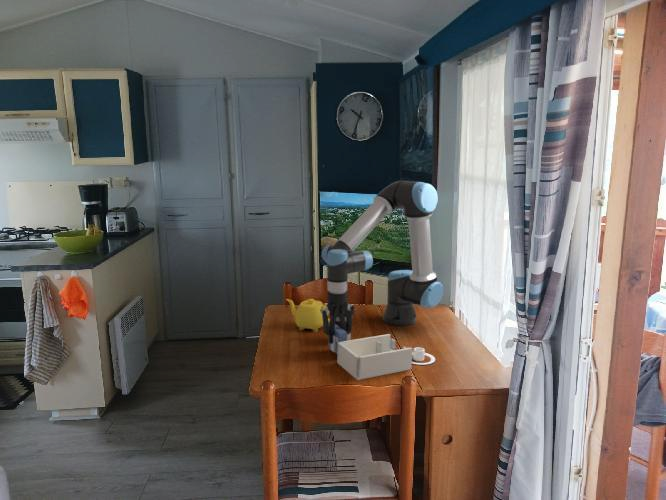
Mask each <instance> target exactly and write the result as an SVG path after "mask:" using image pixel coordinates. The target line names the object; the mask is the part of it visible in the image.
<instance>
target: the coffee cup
mask: <svg viewBox="0 0 666 500" xmlns="http://www.w3.org/2000/svg"><path fill="white" fill-rule="evenodd" d="M346 315H347V309H346V310H345V322H346ZM353 315H355V309H354V310H353V313H352V316H353ZM353 319H354V318H353V317H352V322H353ZM335 324H336V325H337V326H339V327H340V328H341V325H340V319H339V315H337V318H336V321H335ZM352 330H353V323H352V324H351V331H348V333H347V341H349V340H351V336H352V335H351V334H352Z"/></svg>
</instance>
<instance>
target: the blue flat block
mask: <svg viewBox="0 0 666 500" xmlns="http://www.w3.org/2000/svg"><path fill="white" fill-rule="evenodd" d="M334 335H335V352H334V353H335V354H336V355H337V343H338V342H343V341H347V332H346V331H344V330H343V329H342V328H340V327H339V326H337V325H336V324H335V328H334ZM327 336H328V343H327V344H328V346H327V347H328V348H329V349H330V350H331V344H330V343H329V335H327Z"/></svg>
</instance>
